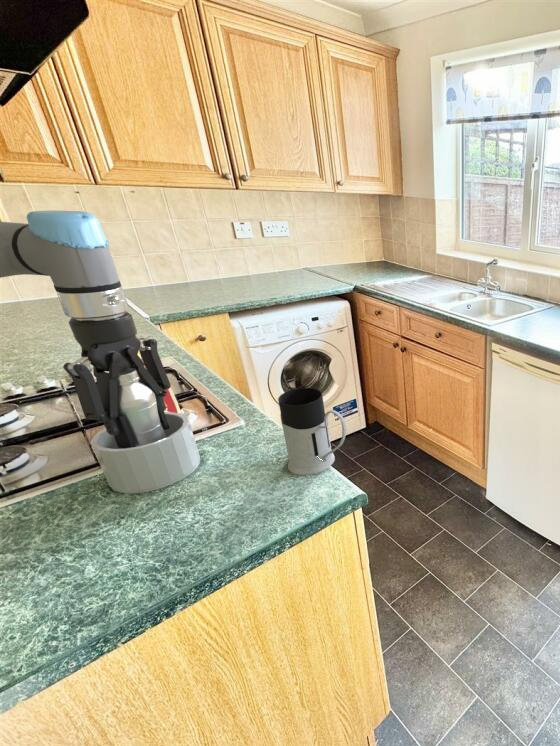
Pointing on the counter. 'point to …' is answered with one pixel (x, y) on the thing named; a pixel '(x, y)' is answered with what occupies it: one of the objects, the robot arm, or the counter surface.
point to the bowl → (148, 458)
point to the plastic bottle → (138, 408)
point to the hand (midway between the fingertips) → (145, 437)
